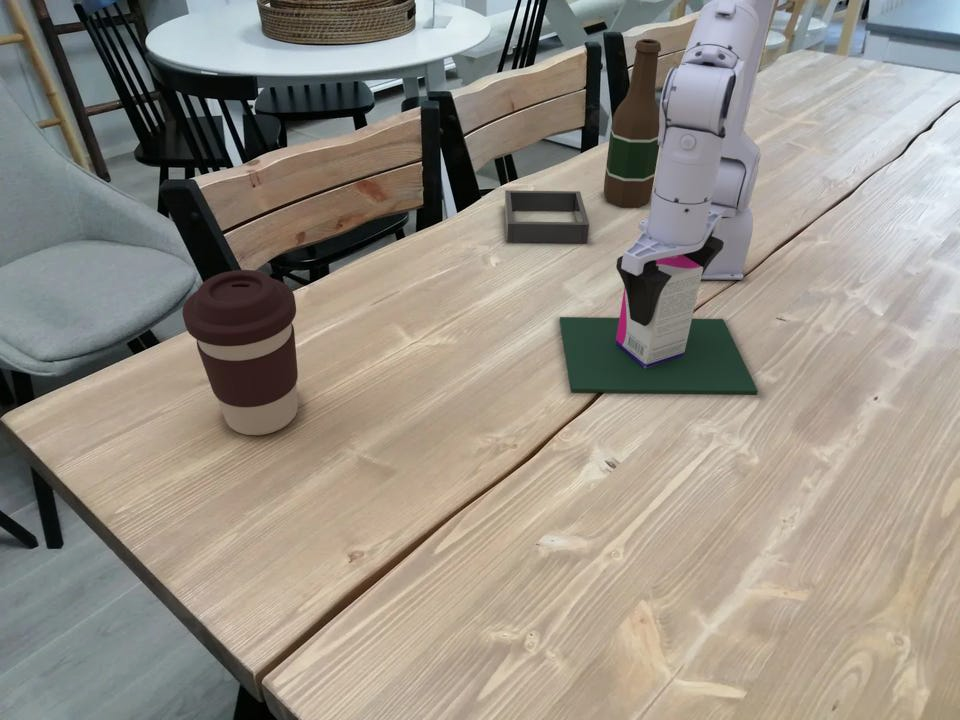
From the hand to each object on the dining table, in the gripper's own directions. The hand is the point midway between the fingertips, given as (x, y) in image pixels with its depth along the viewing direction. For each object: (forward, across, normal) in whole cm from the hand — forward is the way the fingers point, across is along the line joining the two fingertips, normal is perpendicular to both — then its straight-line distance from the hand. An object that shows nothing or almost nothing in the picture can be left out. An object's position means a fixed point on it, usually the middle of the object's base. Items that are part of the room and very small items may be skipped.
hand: (660, 308), depth 81 cm
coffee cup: (+6, +38, -20) cm, 44 cm away
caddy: (+6, -15, -31) cm, 35 cm away
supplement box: (+6, 0, 0) cm, 6 cm away
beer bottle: (+6, -32, -29) cm, 44 cm away
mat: (+6, 0, 0) cm, 6 cm away
